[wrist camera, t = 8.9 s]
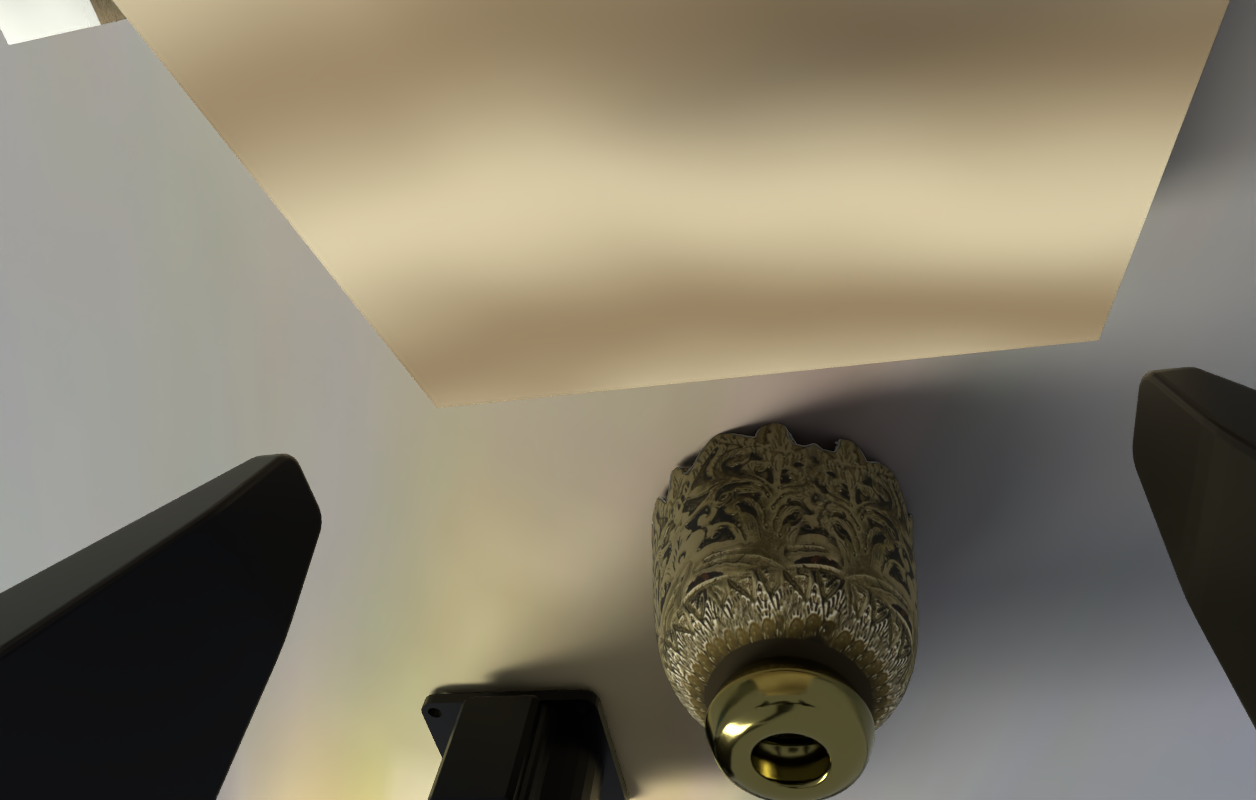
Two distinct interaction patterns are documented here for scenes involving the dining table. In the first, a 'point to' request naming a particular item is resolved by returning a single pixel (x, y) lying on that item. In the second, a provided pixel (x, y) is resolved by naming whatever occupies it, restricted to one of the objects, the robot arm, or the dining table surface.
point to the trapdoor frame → (53, 17)
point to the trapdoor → (698, 172)
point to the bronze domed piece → (785, 607)
